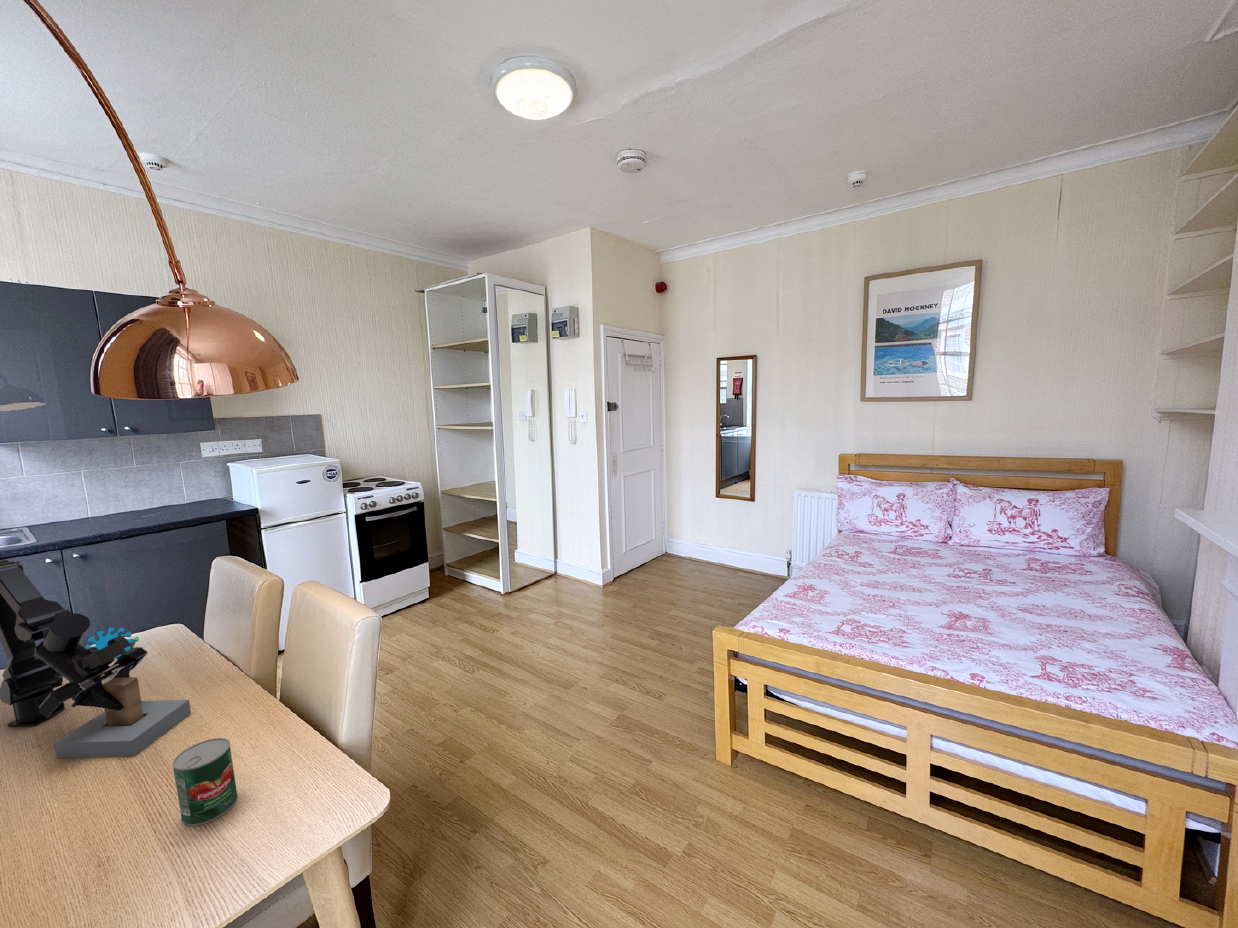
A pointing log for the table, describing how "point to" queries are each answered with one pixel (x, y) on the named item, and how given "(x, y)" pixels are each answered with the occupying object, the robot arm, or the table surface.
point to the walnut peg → (124, 701)
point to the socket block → (122, 732)
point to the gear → (104, 640)
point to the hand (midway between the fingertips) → (129, 703)
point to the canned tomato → (205, 781)
